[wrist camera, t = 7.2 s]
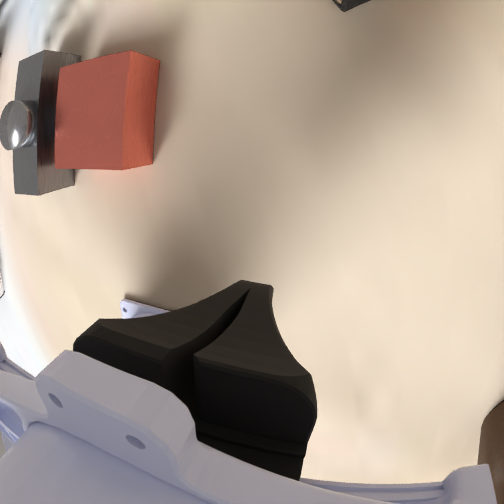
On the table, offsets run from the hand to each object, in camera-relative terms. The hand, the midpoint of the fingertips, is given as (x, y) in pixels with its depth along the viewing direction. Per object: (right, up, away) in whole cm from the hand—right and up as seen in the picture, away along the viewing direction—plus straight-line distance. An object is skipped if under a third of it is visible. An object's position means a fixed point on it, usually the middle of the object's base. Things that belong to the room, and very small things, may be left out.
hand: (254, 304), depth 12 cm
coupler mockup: (-14, +13, +9) cm, 21 cm away
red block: (-10, +13, +8) cm, 19 cm away
